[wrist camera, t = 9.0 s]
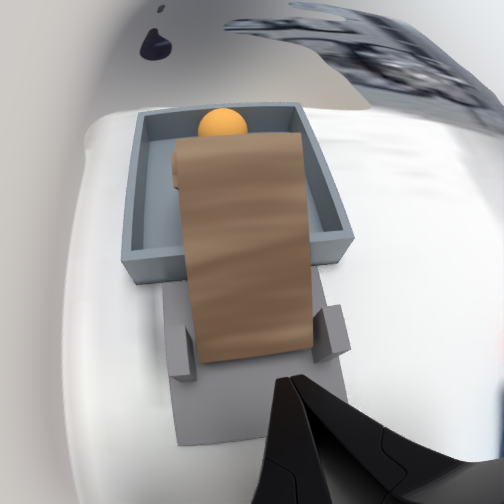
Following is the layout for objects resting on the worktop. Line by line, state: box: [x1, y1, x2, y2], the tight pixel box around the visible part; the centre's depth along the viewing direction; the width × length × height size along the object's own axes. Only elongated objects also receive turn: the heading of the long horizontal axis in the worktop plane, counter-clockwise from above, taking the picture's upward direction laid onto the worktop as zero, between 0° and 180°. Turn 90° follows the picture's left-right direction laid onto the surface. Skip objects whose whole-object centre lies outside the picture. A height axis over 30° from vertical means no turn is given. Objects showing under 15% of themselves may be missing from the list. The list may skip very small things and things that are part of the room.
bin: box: [121, 102, 355, 285], centre depth 22 cm, size 14×14×4 cm
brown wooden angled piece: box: [171, 133, 313, 363], centre depth 18 cm, size 8×7×11 cm
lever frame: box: [162, 266, 351, 446], centre depth 16 cm, size 10×10×4 cm
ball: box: [198, 108, 248, 137], centre depth 24 cm, size 4×4×4 cm
